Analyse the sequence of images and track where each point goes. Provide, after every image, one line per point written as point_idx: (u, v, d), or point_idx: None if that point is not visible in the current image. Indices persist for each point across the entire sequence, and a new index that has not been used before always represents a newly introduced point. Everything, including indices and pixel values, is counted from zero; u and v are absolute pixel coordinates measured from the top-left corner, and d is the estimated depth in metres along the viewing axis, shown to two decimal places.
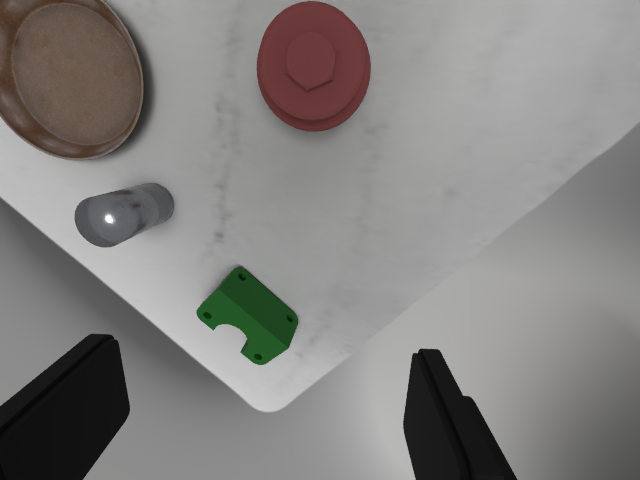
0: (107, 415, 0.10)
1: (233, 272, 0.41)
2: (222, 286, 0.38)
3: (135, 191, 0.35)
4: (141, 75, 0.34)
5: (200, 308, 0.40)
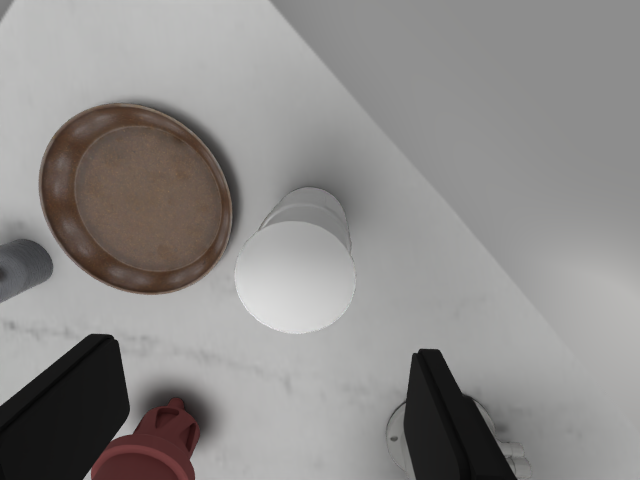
0: (107, 415, 0.10)
1: None
2: None
3: (6, 292, 0.30)
4: (147, 294, 0.32)
5: None
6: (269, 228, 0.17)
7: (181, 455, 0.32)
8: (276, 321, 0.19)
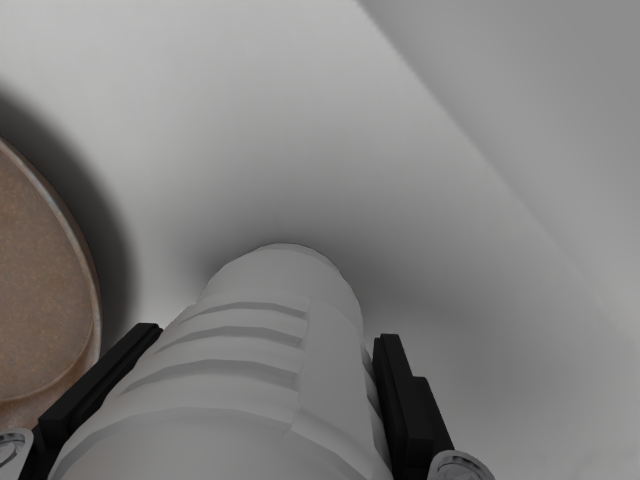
0: None
1: None
2: None
3: None
4: None
5: None
6: None
7: None
8: None
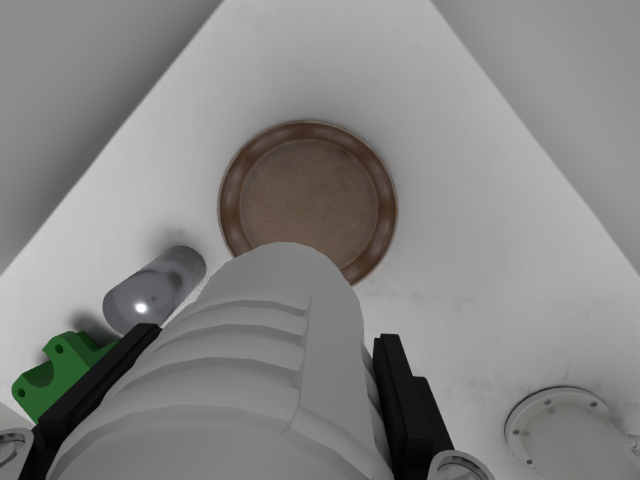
0: None
1: None
2: None
3: (185, 296, 0.32)
4: None
5: (66, 343, 0.35)
6: None
7: None
8: None
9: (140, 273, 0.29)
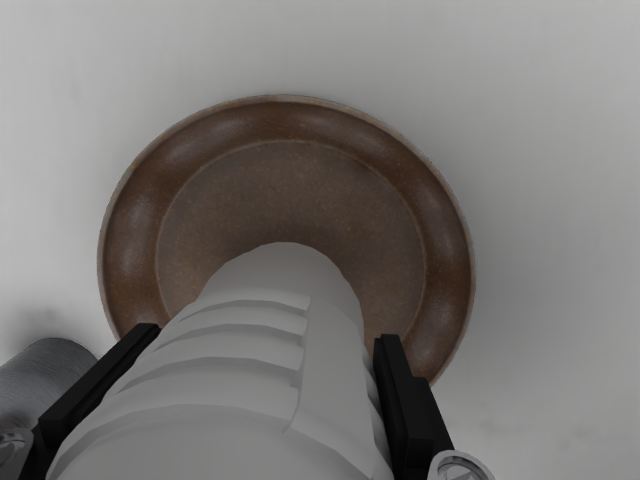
0: None
1: None
2: None
3: None
4: None
5: None
6: None
7: None
8: None
9: None
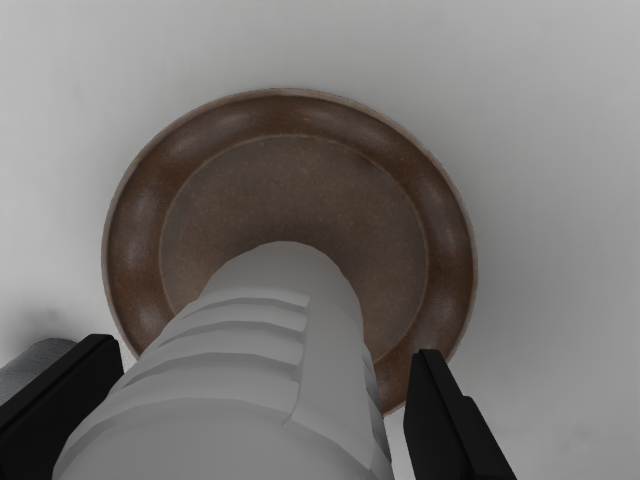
0: None
1: None
2: None
3: None
4: None
5: None
6: None
7: None
8: None
9: None
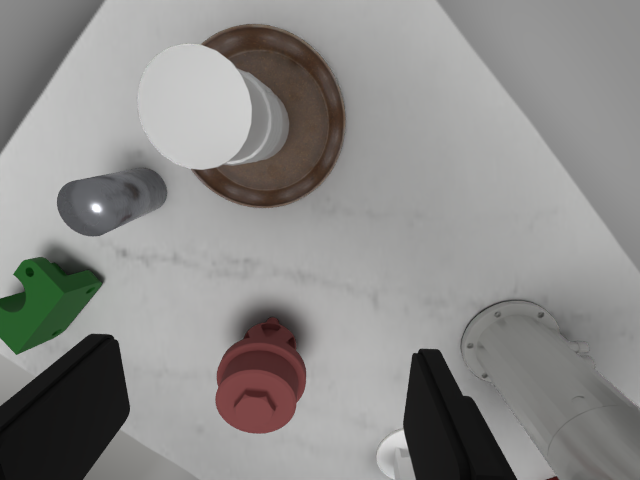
0: (107, 415, 0.10)
1: (92, 284, 0.39)
2: (69, 292, 0.36)
3: (143, 207, 0.33)
4: (263, 207, 0.36)
5: (36, 266, 0.36)
6: (169, 50, 0.18)
7: (297, 354, 0.36)
8: (177, 154, 0.19)
9: None
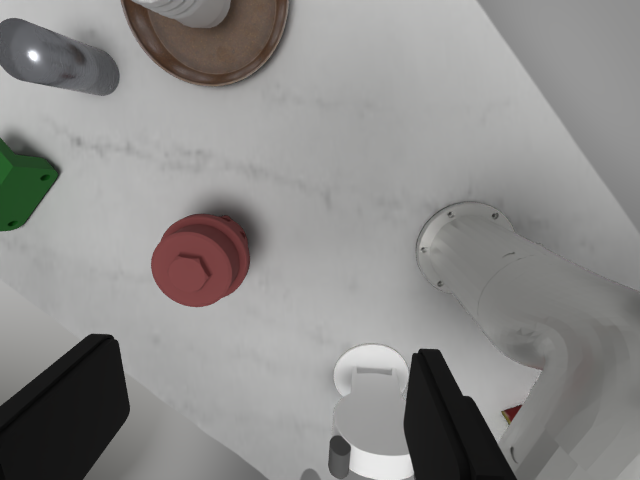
0: (107, 415, 0.10)
1: (46, 170, 0.40)
2: (19, 168, 0.37)
3: (87, 73, 0.34)
4: (210, 85, 0.36)
5: None
6: None
7: (239, 233, 0.36)
8: None
9: None
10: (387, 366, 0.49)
